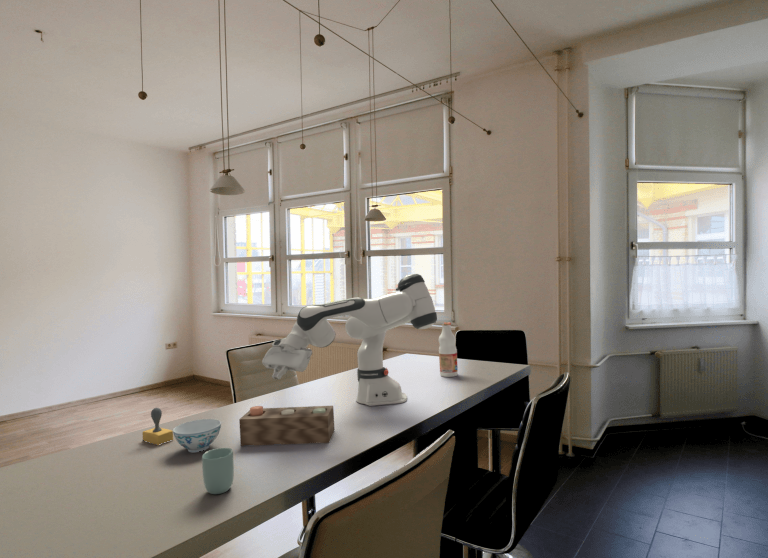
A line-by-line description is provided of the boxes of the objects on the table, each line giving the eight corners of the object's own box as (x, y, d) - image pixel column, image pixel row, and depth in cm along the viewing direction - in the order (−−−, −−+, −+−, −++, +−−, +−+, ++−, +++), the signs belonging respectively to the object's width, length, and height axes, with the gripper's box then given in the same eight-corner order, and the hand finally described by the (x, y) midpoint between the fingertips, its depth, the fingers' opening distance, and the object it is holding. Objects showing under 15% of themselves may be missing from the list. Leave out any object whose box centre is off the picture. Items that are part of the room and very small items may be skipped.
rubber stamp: (142, 441, 162) (140, 408, 162) (157, 436, 167) (156, 404, 167) (158, 446, 157) (156, 411, 157) (173, 440, 162) (171, 407, 162)
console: (334, 430, 163) (333, 405, 163) (329, 442, 151) (327, 415, 151) (252, 433, 165) (251, 408, 164) (240, 445, 153) (239, 419, 152)
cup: (208, 485, 124) (206, 449, 124) (238, 482, 125) (236, 446, 124) (199, 499, 116) (197, 460, 116) (230, 496, 117) (228, 457, 117)
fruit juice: (437, 374, 245) (435, 322, 244) (454, 372, 246) (451, 321, 246) (443, 378, 235) (440, 324, 235) (460, 376, 237) (457, 323, 237)
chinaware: (175, 461, 142) (174, 437, 142) (173, 446, 155) (171, 424, 155) (225, 450, 149) (224, 427, 149) (219, 437, 162) (218, 415, 162)
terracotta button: (265, 415, 160) (264, 405, 160) (261, 419, 156) (260, 409, 156) (252, 415, 161) (252, 406, 161) (248, 419, 156) (248, 409, 156)
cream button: (296, 418, 160) (295, 409, 160) (293, 422, 156) (292, 412, 156) (283, 419, 160) (283, 409, 160) (280, 423, 156) (279, 413, 156)
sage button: (326, 417, 159) (326, 407, 159) (324, 421, 155) (324, 411, 155) (314, 417, 160) (314, 408, 160) (312, 421, 155) (311, 412, 155)
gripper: (318, 354, 170) (301, 385, 162) (279, 351, 181) (261, 380, 173) (310, 343, 166) (292, 375, 158) (270, 341, 177) (251, 371, 169)
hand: (275, 378), depth 165 cm, fingers closed
